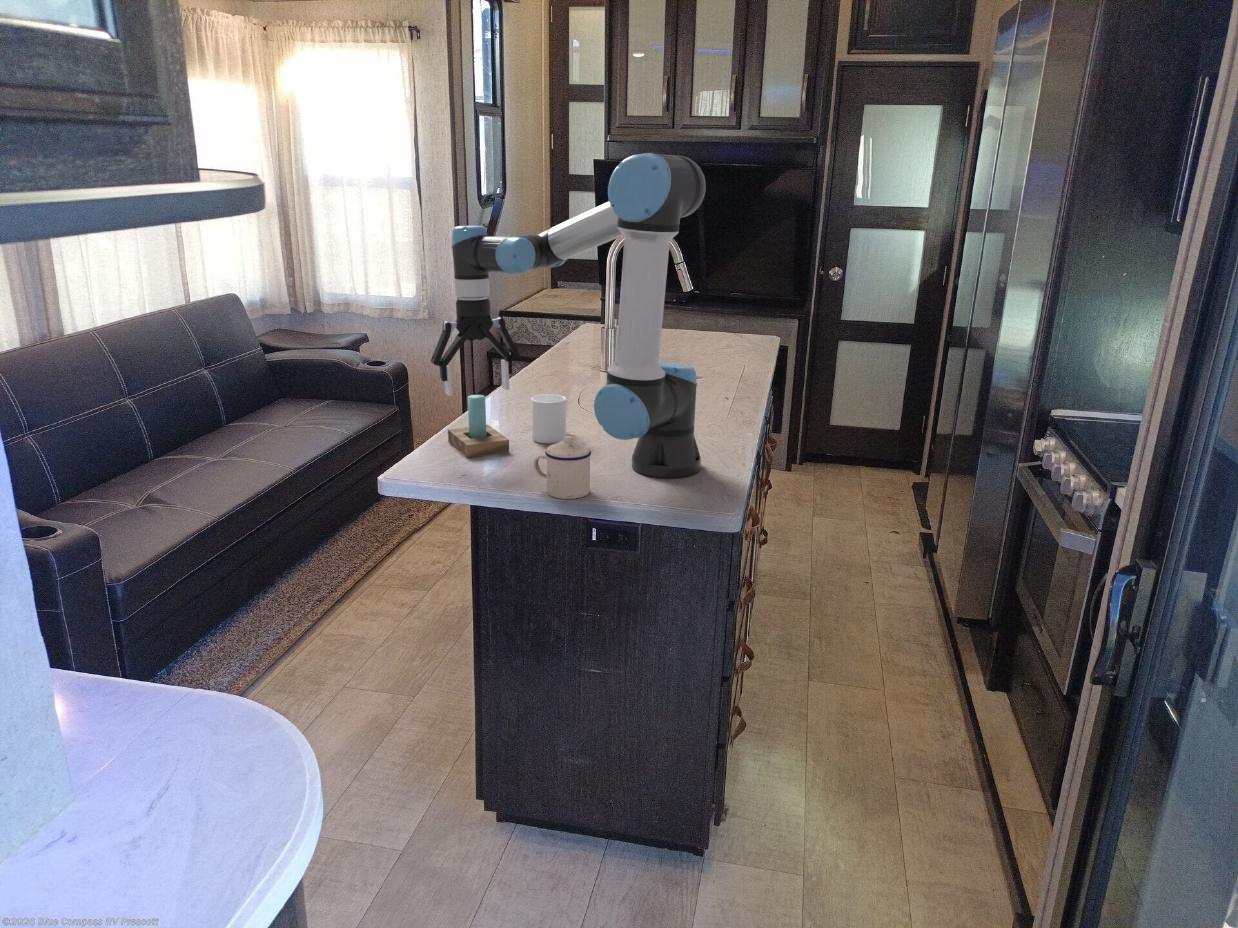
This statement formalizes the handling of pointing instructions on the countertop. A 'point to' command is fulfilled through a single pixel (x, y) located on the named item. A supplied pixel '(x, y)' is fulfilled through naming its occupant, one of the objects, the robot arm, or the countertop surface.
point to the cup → (548, 418)
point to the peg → (477, 416)
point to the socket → (478, 442)
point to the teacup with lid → (566, 469)
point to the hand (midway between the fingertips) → (477, 391)
